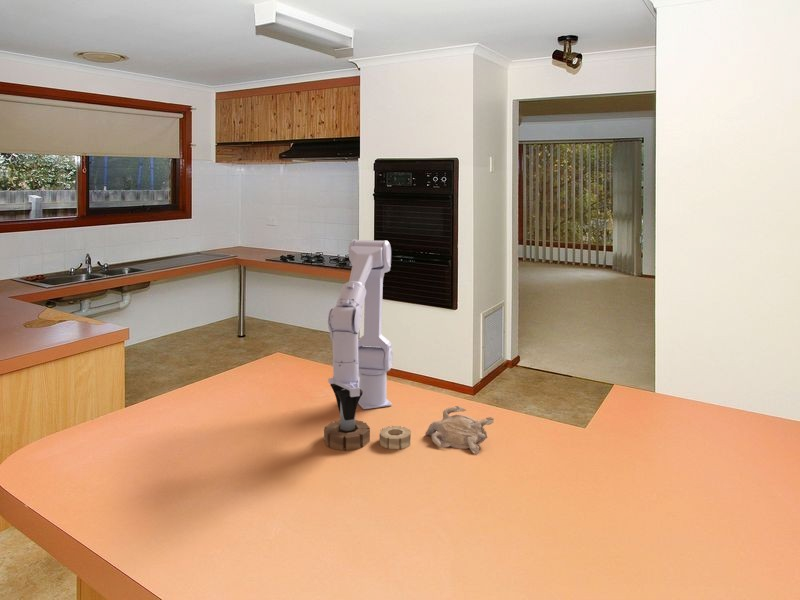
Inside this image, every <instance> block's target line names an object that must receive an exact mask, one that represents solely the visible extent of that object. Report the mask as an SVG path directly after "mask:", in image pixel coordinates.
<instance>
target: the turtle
mask: <svg viewBox="0 0 800 600" xmlns="http://www.w3.org/2000/svg"><path fill="white" fill-rule="evenodd" d="M466 411H467V409H466V408H464V407H461V406H459V405H455V406H451V407H448V408H446V409H444V410H443V411H442V419H441V420H435V421H433V422H431V423H430V424H429V426H428V428H427V430H426V431H425V434H424V435H425V436H431V440H432V442H433V443H434V444H435V446H438V447H440V448H444V449H445V448H448V447H451V448H454V449H460V450H467V449H470V451H471V453H473V454H476V455H478V454H479V452H480V447H479V445H480V444H482V443H483V442H484V441H485V440H486V439H488V435H487V431H486V429H485V426H489V425H492V424H493V423H494V420H495V418H494V417H490V416H488V417H486V418H483V419H480V420H479V421H478V420H477V419H475V418H473V417H471V416H468V415H464V414H455V415H454V414H453V415H450V414H452V413H459V412H462V413H463V412H466Z"/></svg>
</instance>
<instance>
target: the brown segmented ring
mask: <svg viewBox="0 0 800 600" xmlns="http://www.w3.org/2000/svg"><path fill="white" fill-rule="evenodd" d="M323 439H324V440H323V441H324V443H325V444H326V446H327V447H329V448H330V449H334V450H338V451H344V450H346V451H352V450H357V449H361V447H362V448H364V447H366V445H367V444H369V442H370V441H371V440H370V439H371V427H370V426H369V425H368V423H367V422H364V421H363V420H357V419H355V429H354V430H351V431H344V430H341V429H340V420H334V421H332V422H330V423H328V424H327V425H325V426H324V429H323Z"/></svg>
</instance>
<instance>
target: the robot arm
mask: <svg viewBox="0 0 800 600" xmlns="http://www.w3.org/2000/svg"><path fill="white" fill-rule="evenodd" d="M348 259H349V262H350V265H351V271H350V276H349V280H348V281H347V282H345V283H344V284H343V285H342V287H341V290H340V294H339V296H338V299H337V302H336V304H335V306H334V307H333V308H330V310H329V312H328V317H327V319H328V320H327V326H328V331H329V337H330V340H331V341H332V342H331V343H332V372H333V373H332V374H333V375H332V377H330V378H327V382H328V383H329V385H330V387H331V389H332V391H333V393H334V396H335V398H336V399H335V400H336V405H337V409H338V411H339V413H340V401H341V405H342V411H343V416H344V419H345V420H353V419H354V417H355V418H356V413H357V407H358V405H359V406H360V407H361V408H362V409H363V410H369V409H375V408H384V407H390V406H391V407H392V406H393V404H392V402H391V401H390V400H389V399H388V398H387V372H390V370H391V369H392V365H393V361H394V355H393V353H394V352H393V345H392V342H391V341H390V340H389V339H388V338H386V336H384V334H383V333H382V328H383V327H382V325H383V293H384V292H383V287H384V284H383V283H384V277H385V273H388V272H390V271H391V267H392V265H391V264H392V247H391V244H390V242H389V241H388V240H366V239H364V240H363V239H355V238H354V239H352V240H351V241H350V242H349V245H348ZM363 305H364V306H363ZM363 307H364V310H362V309H363ZM363 311H364V312H363ZM363 315H364V316H363ZM362 318H363V320H362ZM362 321H363V335H362V336H361V337H359V332H360V331H361V327H362ZM344 388H345V390H341V389H344Z"/></svg>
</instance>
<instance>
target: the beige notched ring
mask: <svg viewBox="0 0 800 600" xmlns="http://www.w3.org/2000/svg"><path fill="white" fill-rule="evenodd" d="M411 443H412V431H411V429H410V428H407V427H405V426H401V425H391V426H385V427H383V428H381V429H380V431H379V445H380V446H381V447H382V448H385V449H388V450H403V449H405V448H408V447H410V446H411Z"/></svg>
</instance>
